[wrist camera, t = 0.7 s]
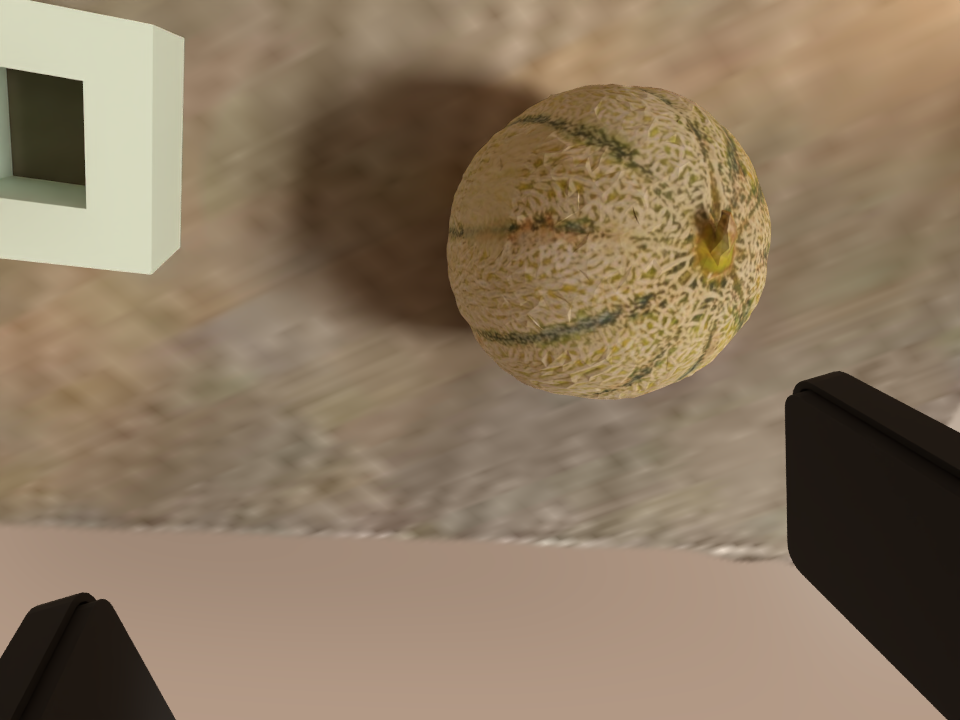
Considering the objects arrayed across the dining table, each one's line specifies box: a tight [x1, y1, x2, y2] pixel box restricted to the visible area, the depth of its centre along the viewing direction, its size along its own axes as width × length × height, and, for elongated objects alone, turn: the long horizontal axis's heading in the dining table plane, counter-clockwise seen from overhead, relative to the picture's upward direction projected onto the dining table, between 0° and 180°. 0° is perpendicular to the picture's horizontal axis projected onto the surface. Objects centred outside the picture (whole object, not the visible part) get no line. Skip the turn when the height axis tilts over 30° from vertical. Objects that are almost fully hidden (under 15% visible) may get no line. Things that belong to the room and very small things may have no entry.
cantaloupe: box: [446, 84, 771, 400], centre depth 31 cm, size 15×15×15 cm
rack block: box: [0, 0, 184, 275], centre depth 29 cm, size 10×10×6 cm
